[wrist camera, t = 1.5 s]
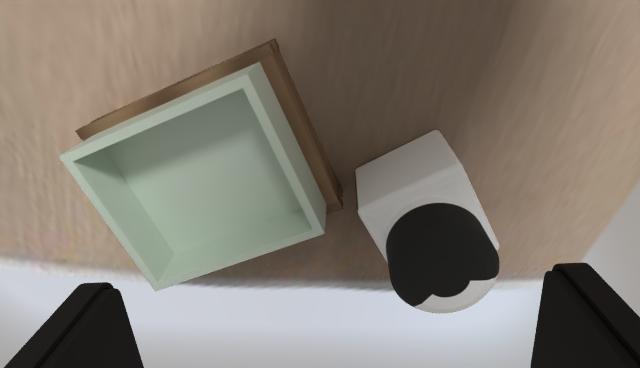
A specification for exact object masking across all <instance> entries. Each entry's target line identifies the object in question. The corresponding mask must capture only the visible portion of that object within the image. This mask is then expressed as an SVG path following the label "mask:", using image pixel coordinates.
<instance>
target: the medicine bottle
mask: <svg viewBox="0 0 640 368" xmlns="http://www.w3.org/2000/svg"><path fill="white" fill-rule="evenodd" d="M355 184H356V198H357V211H358V215H359V216H360V218H361V220H362V221H363V223H364V225H365V226H366V228H367V230H368V231H369V233H370V235H371V237H372V238H373V240H374V242H375V243H376V245H377V247H378V248H379V250H380V252H381V253H382V255H383V257H384V258H385V260H386V262H387V263H388V267H389V273H390V279H391V283H392V285H393V288H394V290H395V291H396V293H397V294H398V295H399V297H400V298H401V299H402V300H404V301H405V302H406V303H408V304H409V305H411V306H413V307H415V308H417V309H420V310H423V311H427V312H432V313H450V312H456V311H460V310H463V309H465V308H468V307H470V306H472V305H474V304H475V303H477V302H478V301H479V300H481V299H482V298H483V297H484V296H485V295H486V294H487V293H488V292H489V291H490V289H491V288H492V287H493V285H494V283H495V281H496V279H497V276H498V272H499V257H498V254H497V251H498V250H499V243H498V241H497V239H496V237H495V235H494V232H493V230H492V228H491V226H490V224H489V222H488V219H487V217H486V215H485V213H484V211H483V209H482V206H481V204H480V202H479V200H478V198H477V196H476V194H475V191H474V189H473V187H472V185H471V183H470V181H469V178H468V176H467V174H466V172H465V170H464V168H463V166H462V164H461V163H460V161H459V160H458V158H457V156H456V155H455V153H454V152H453V150H452V149H451V147H450V146H449V144H448V143H447V141H446V140H445V138H444V137H443V135H442V134H441V132H440V131H438V130H433V131H431V132H429V133H427V134H425V135H423V136H421V137H419V138H417V139H415V140H413V141H411V142H409V143H407V144H405V145H403V146H401V147H399V148H397V149H395V150H393V151H391V152H389V153H387V154H385V155H383V156H381V157H379V158H377V159H375V160H372V161H370V162H368V163H366V164H364V165H362V166H360V167H358V168H357V169H356V170H355Z"/></svg>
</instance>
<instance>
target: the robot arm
mask: <svg viewBox="0 0 640 368" xmlns="http://www.w3.org/2000/svg"><path fill="white" fill-rule="evenodd" d="M4 368H144V367H143V364H142V360H141V357H140V354H139V351H138V347H137V344H136V341H135V338H134V334H133V331H132V328H131V325H130V321H129V318H128V315H127V312H126V308H125V305H124V302H123V299H122V296H121V293H120V291H119V290H118V289H114V288H113V286H112V285H111V284H110V283H106V282H104V283H84V284H81V285H79V286H78V287H77V288H76V289H75V290H74V291H73V292H72V293H71V295H70V296H69V297H68V298H67V299H66V300H65V301H64V302H63V303H62V304H61V306H60V307H59V308H58V309H57V310H56V311H55V312H54V313H53V314H52V315H51V316H50V318H49V319H48V320H47V321H46V322H45V323H44V324H43V325H42V326H41V327H40V329H39V330H38V331H37V332H36V333H35V334H34V335H33V337H31V338H30V340H29V341H28V342H27V343H26V344H25V345H24V346H23V347H22V348H21V350H20V351H19V352H18V353H17V354H16V355H15V356H14V357H13V358H12V359H11V360H10V362H9V363H8V364H7V365H6V366H5V367H4ZM531 368H640V317H639V316H638V315H637V314H636V313H635V312H634V311H633V310H632V309H631V308H630V307H629V306H628V305H627V304H626V303H625V301H624V300H623V299H622V298H621V297H620V296H619V295H618V294H617V293H616V292H615V291H614V290H613V289H612V288H611V287H610V286H609V285H608V284H607V283H606V282H605V281H604V280H603V279H602V278H601V276H599V274H598V273H597V272H596V271H595V270H594V269H593V268H592V267H591V266H590V265H588V264H587V263H564V264H556V265H555V266H554V267H553V269H552V271H547V272H546V273H545V276H544V281H543V288H542V295H541V302H540V308H539V314H538V321H537V327H536V334H535V341H534V347H533V354H532V360H531Z"/></svg>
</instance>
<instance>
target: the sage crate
mask: <svg viewBox="0 0 640 368" xmlns="http://www.w3.org/2000/svg"><path fill="white" fill-rule="evenodd" d="M59 157H60V159H61V160H62V162H63V163H64V164H65V166H66V167H67V169H68V170H69V171H70V173H71V174H72V176H73V177H74V178H75V180H76V181H77V183H78V184H79V185H80V187H81V188H82V190H83V191H84V192H85V194H86V195H87V197H88V198H89V199H90V201H91V202H92V204H93V205H94V206H95V208H96V209H97V211H98V212H99V213H100V215H101V216H102V218H103V219H104V220H105V222H106V223H107V225H108V226H109V227H110V229H111V230H112V232H113V233H114V234H115V236H116V237H117V239H118V240H119V241H120V243H121V244H122V245H123V247H124V248H125V250H126V251H127V252H128V254H129V255H130V257H131V258H132V259H133V261H134V262H135V264H136V265H137V266H138V268H139V269H140V271H141V272H142V273H143V275H144V276H145V278H146V279H147V280H148V282H149V283H150V285H151V286H152V287H153V289H154V290H155V291H158V290H160V289H163V288H166V287H169V286H172V285H175V284H178V283H181V282H184V281H187V280H190V279H193V278H196V277H199V276H202V275H205V274H208V273H211V272H214V271H217V270H220V269H222V268H225V267H228V266H231V265H234V264H237V263H240V262H243V261H246V260H249V259H252V258H255V257H258V256H261V255H264V254H267V253H270V252H273V251H275V250H278V249H281V248H284V247H287V246H290V245H293V244H296V243H299V242H302V241H305V240H308V239H311V238H314V237H317V236H320V235H323V234H325V222H326V206H327V204H326V202H325V200H324V198H323V196H322V194H321V191H320V189H319V187H318V185H317V183H316V181H315V179H314V177H313V174H312V172H311V170H310V168H309V166H308V164H307V162H306V159H305V157H304V155H303V153H302V151H301V149H300V147H299V144H298V142H297V140H296V138H295V136H294V134H293V132H292V129H291V127H290V125H289V123H288V121H287V119H286V117H285V114H284V112H283V110H282V108H281V106H280V104H279V102H278V100H277V97H276V95H275V93H274V91H273V89H272V87H271V85H270V82H269V80H268V78H267V76H266V74H265V72H264V70H263V67H262V65H261V63H260V62H258V63H255V64H253V65H251V66H249V67H246V68H244V69H242V70H240V71H237V72H235V73H233V74H231V75H228V76H226V77H224V78H221V79H219V80H217V81H215V82H212V83H210V84H208V85H206V86H203V87H201V88H199V89H197V90H194V91H192V92H190V93H188V94H185V95H183V96H181V97H178V98H176V99H174V100H172V101H169V102H167V103H165V104H163V105H160V106H158V107H156V108H154V109H151V110H149V111H147V112H145V113H142V114H140V115H138V116H136V117H133V118H131V119H129V120H126V121H124V122H122V123H120V124H117V125H115V126H113V127H111V128H108V129H106V130H104V131H102V132H99V133H97V134H95V135H93V136H91V137H90V138H88V139H86V140H85V141H83V142H81V143H80V144H78V145H77V146H75V147H73V148H72V149H70V150H69V151H67V152H65V153H64V154H62V155H60V156H59Z"/></svg>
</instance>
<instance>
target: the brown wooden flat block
mask: <svg viewBox="0 0 640 368" xmlns="http://www.w3.org/2000/svg"><path fill="white" fill-rule="evenodd" d="M278 49H279V46H278V44H277V42H276V39H273V40H271V41H268V42H266V43H264V44H262V45H260V46H257V47H255V48H253V49H251V50H248V51H246V52H244V53H242V54H240V55H237V56H235V57H233V58H231V59H228V60H226V61H224V62H222V63H220V64H217V65H215V66H213V67H211V68H208V69H206V70H204V71H202V72H200V73H197V74H195V75H193V76H191V77H189V78H186V79H184V80H182V81H180V82H177V83H175V84H173V85H171V86H169V87H166V88H164V89H162V90H160V91H157V92H155V93H153V94H151V95H149V96H146V97H144V98H142V99H140V100H137V101H135V102H133V103H131V104H129V105H126V106H124V107H122V108H120V109H117V110H115V111H113V112H111V113H109V114H106V115H104V116H102V117H100V118H98V119H96V120H94V121H92V122H90V124H88V125H85V126H83V127H81V128H80V129H78V130H76V133H77V134H78V135H79V137H80V138H81V140H82V139H83V141H85V140H86V139H88V138H90V137H91V136H93V135H95V134H97V133H99V132H102V131H104V130H106V129H108V128H111V127H113V126H115V125H117V124H120V123H122V122H124V121H126V120H129V119H131V118H133V117H136V116H138V115H140V114H142V113H145V112H147V111H149V110H151V109H154V108H156V107H158V106H160V105H163V104H165V103H167V102H169V101H172V100H174V99H176V98H178V97H181V96H183V95H185V94H188V93H190V92H192V91H194V90H197V89H199V88H201V87H203V86H206V85H208V84H210V83H212V82H215V81H217V80H219V79H221V78H224V77H226V76H228V75H231V74H233V73H235V72H237V71H240V70H242V69H244V68H246V67H249V66H251V65H253V64H255V63H258V62H260V63H261V65H262V67H263V70H264V72H265V74H266V76H267V78H268V80H269V82H270V85H271V87H272V89H273V91H274V93H275V95H276V97H277V100H278V102H279V104H280V106H281V108H282V110H283V112H284V114H285V117H286V119H287V121H288V123H289V125H290V127H291V129H292V132H293V134H294V136H295V138H296V140H297V142H298V144H299V147H300V149H301V151H302V153H303V155H304V157H305V159H306V162H307V164H308V166H309V168H310V170H311V172H312V174H313V177H314V179H315V181H316V183H317V185H318V187H319V189H320V191H321V194H322V196H323V198H324V200H325V202H326V204H327V206H326V214H328V213H331V212H334V211H337V210H340V209H343V202H342V199H341V197H342V196H343V190H342V188H341V186H340V184H338V182H337V180H336V178H335V175H334V173H333V171H332V169H331V166H330V164H329V162H328V160H327V157H326V155H325V153H324V151H323V148H322V146H321V144H320V142H319V139H318V137H317V135H316V133H315V130H314V128H313V126H312V124H311V121H310V119H309V117H308V115H307V112H306V110H305V108H304V106H303V103H302V101H301V99H300V97H299V94H298V92H297V90H296V88H295V85H294V83H293V81H292V79H291V76H290V74H289V72H288V70H287V68H286V65H285V63H284V61H283V59H282V56H281V54H280V52H279V50H278Z"/></svg>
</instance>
